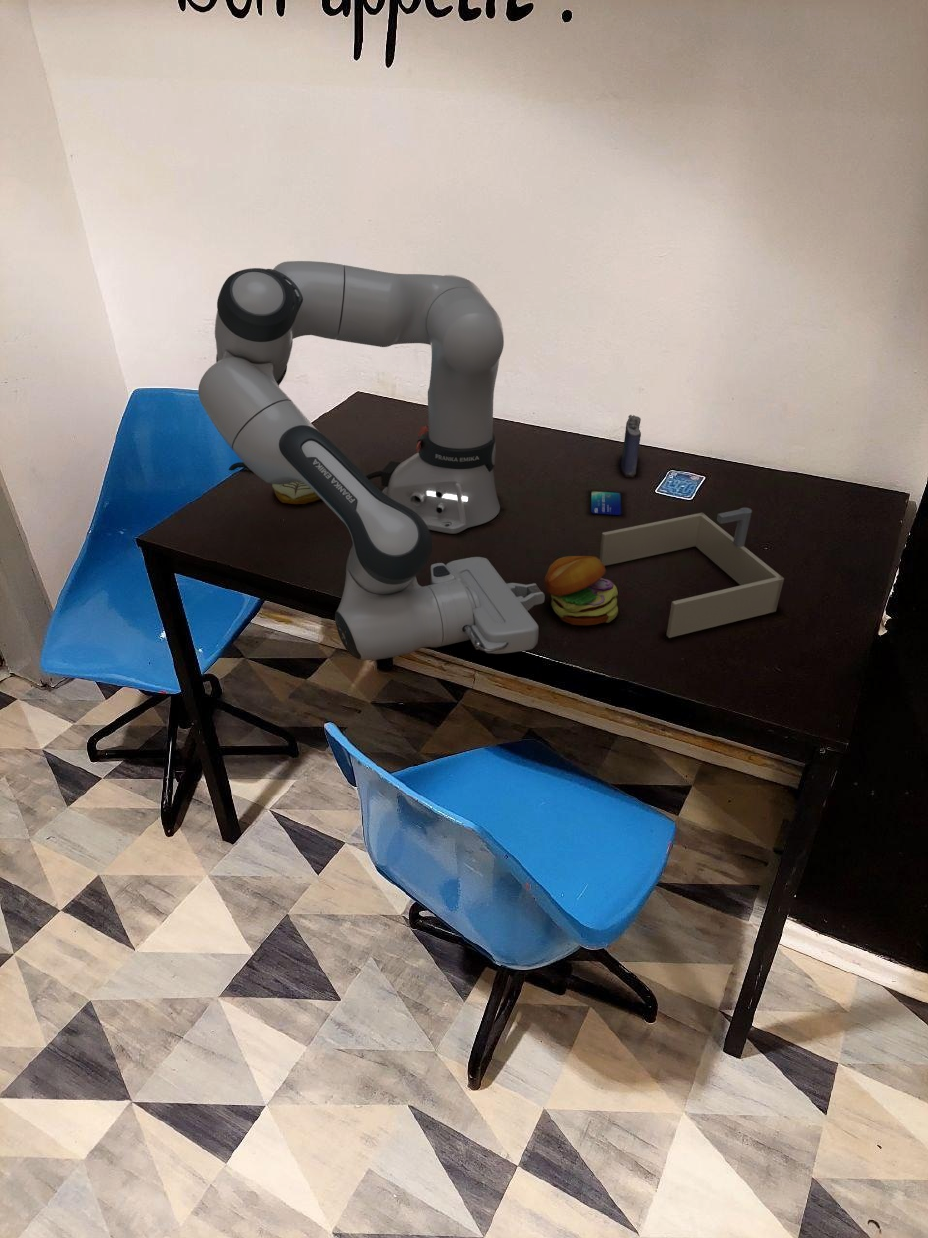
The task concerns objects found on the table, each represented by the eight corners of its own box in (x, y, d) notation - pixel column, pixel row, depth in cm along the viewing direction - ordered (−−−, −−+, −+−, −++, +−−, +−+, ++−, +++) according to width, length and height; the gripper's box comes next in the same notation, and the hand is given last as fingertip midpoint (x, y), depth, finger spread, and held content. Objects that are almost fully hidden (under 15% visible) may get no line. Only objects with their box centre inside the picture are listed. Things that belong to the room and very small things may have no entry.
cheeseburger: (603, 639, 128) (593, 579, 124) (538, 631, 134) (527, 573, 129) (630, 605, 135) (622, 546, 130) (568, 598, 141) (558, 542, 136)
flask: (636, 478, 171) (642, 425, 164) (620, 477, 171) (626, 424, 165) (635, 457, 178) (641, 406, 172) (620, 456, 178) (626, 405, 172)
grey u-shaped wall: (668, 638, 129) (680, 568, 122) (598, 564, 145) (605, 499, 138) (778, 610, 134) (796, 542, 127) (699, 542, 151) (710, 479, 144)
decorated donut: (262, 493, 165) (260, 475, 163) (309, 475, 171) (307, 457, 169) (295, 513, 159) (293, 494, 157) (342, 493, 165) (341, 475, 163)
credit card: (621, 515, 158) (621, 514, 158) (591, 513, 159) (591, 513, 159) (620, 493, 165) (620, 492, 165) (591, 491, 166) (591, 491, 166)
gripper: (479, 635, 116) (574, 613, 120) (428, 558, 131) (513, 541, 135) (478, 672, 119) (570, 650, 123) (429, 593, 135) (512, 575, 139)
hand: (540, 592), depth 130 cm, fingers closed
